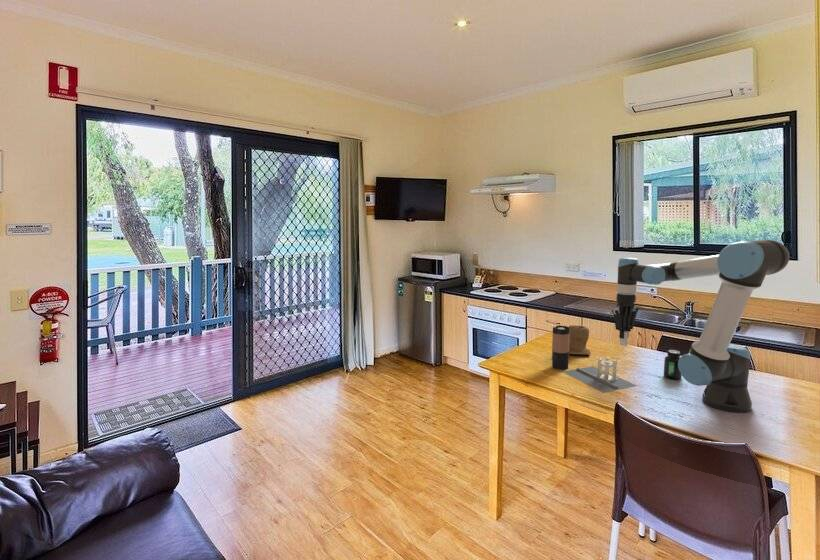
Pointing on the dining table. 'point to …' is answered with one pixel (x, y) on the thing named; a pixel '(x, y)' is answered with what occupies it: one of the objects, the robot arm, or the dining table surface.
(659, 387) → the dining table surface
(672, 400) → the dining table surface
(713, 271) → the robot arm
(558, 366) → the travel mug
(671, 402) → the dining table surface
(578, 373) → the board
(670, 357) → the supplement bottle
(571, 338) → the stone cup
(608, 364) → the stool
